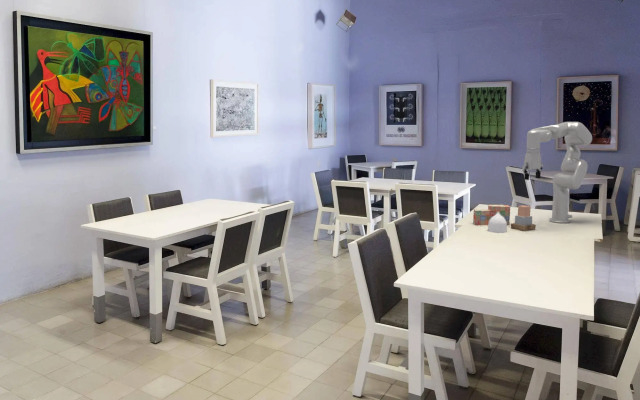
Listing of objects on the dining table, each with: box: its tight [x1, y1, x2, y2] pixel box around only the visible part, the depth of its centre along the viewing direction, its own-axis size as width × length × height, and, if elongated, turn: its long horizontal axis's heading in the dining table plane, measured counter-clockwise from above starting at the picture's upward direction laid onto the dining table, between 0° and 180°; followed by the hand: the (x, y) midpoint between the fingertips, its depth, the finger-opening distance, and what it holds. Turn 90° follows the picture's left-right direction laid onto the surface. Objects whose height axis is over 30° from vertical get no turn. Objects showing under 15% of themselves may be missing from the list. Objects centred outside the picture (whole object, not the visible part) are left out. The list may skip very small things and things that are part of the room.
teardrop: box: [487, 212, 508, 234], centre depth 329 cm, size 11×11×12 cm
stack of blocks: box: [472, 204, 511, 226], centre depth 349 cm, size 21×6×12 cm, turn 86°
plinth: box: [510, 222, 537, 232], centre depth 335 cm, size 10×10×3 cm
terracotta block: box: [517, 204, 532, 217], centre depth 334 cm, size 5×5×6 cm
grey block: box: [514, 214, 533, 226], centre depth 334 cm, size 7×7×5 cm
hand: (532, 178), depth 338 cm, fingers open, 9 cm apart
